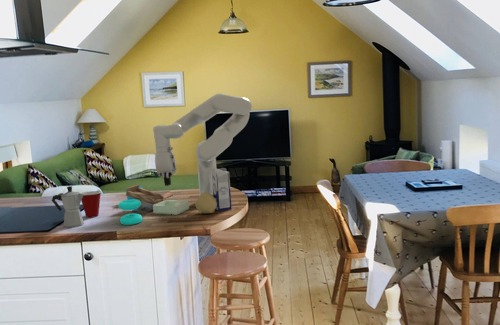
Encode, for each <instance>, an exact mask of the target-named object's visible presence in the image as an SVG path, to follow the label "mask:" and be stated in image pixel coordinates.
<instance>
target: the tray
mask: <svg viewBox="0 0 500 325" xmlns="http://www.w3.org/2000/svg"><path fill="white" fill-rule="evenodd" d="M177 202H179V203H181V204H180V205H178V206H174V204H175V203H177ZM188 210H190V202H189V201H188V200H173V199H171V200H170V199H164V200H163V201H160V202H158V203H156V204H153V210H152V211H153V214H155V215H170V216H171V214H172V215H173V216H177V215H180V214H181V213H184V212H186V211H188Z"/></svg>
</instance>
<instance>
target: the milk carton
mask: <svg viewBox="0 0 500 325" xmlns="http://www.w3.org/2000/svg"><path fill="white" fill-rule="evenodd" d="M211 170H212V184H213V195H215V197H216V202H217V206H216V208H215V210H217V211H218V212H221V211H228V210H232V209H233V208H232V194H231V183H230V182H231V180H230V171H227V168H225V167H221V168H216V169H214V168H211Z"/></svg>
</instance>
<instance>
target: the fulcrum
mask: <svg viewBox="0 0 500 325" xmlns="http://www.w3.org/2000/svg"><path fill="white" fill-rule="evenodd" d="M140 202H141V205H140V207H139V208H137V209H134V210H131V213H136V214H147V213H150V212H152V211H153V205H154V204H153V205H152V204H149V203H146V202H143V201H140Z"/></svg>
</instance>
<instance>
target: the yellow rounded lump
mask: <svg viewBox="0 0 500 325" xmlns="http://www.w3.org/2000/svg"><path fill="white" fill-rule="evenodd" d="M216 206H217V202H216V197H215V195H212V194H210V193H208V192H203V193H202V194H201V195H200V194H199V196H198V198H197V199H196V201H195V208H196V210H197V212H198V214H214V213H215V210H216V209H215V208H216Z"/></svg>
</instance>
